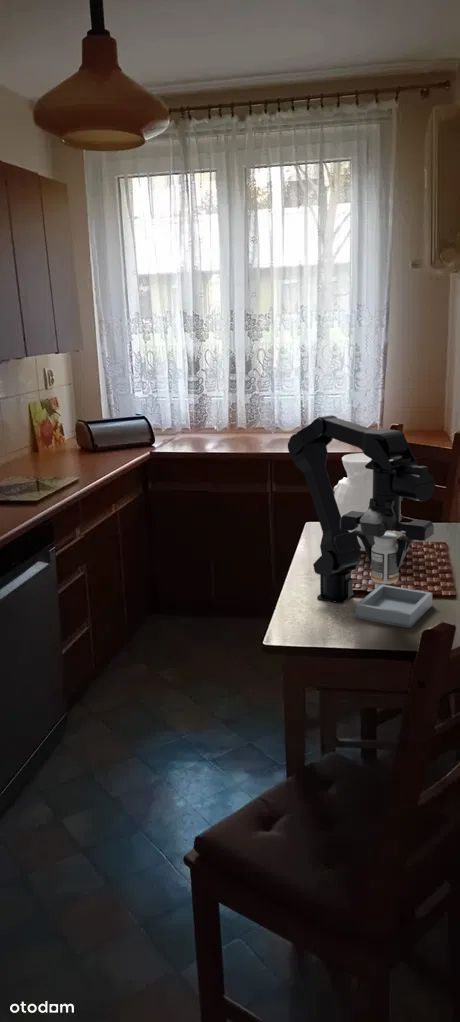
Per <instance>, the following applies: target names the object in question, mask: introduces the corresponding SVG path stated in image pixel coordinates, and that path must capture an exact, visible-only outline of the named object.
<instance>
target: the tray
mask: <svg viewBox="0 0 460 1022" xmlns="http://www.w3.org/2000/svg"><path fill="white" fill-rule="evenodd" d="M432 606H433V592H429V591H422V590H417V589H411V588H406V587H399V586H393V585H389V584H381V583H380V584H379V585H378V586H377V587H376V588H374V589H373V590H372V591H371V592H369V593H368V595H366V596H365V597H363V598H362V599H361V600H360V601H358V602H357V603H356V604H355V618H356V619H360V620H365V621H370V622H375V623H379V624H385V625H390V626H397V627H401V628H405V629H406V628H407V629H411V628H412V627H413V626H414V625H415V624H416V623H417V622H418V621H419V620H420V619H421V617H423V616H424V615H425V614H426V612H427V611H428V610H430V609H431V607H432Z"/></svg>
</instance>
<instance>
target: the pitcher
mask: <svg viewBox="0 0 460 1022" xmlns="http://www.w3.org/2000/svg"><path fill="white" fill-rule="evenodd" d="M371 460H372V459H371V458H369V457H367V456H366V455H365V454H364V453H363V452H357V453H349V454H345V455H343V456H342V457H341V461H342V462H341V463H342V465H343V467H344V470H345V472H346V475H347V477H343V478H342V479H340V480H338V483H337V484H336V485H335V486H334V487H333V493H334V496H335V500H336V503H337V506H338V509H339V512H340V515H341V517H342V516H343V515H345V514H347V513H349V512H351V511H357V512H366V511H367V510H368V508H369V502H370V499H371V498H372V494H373V470H371V469H367V468H365V465H366V464H367V463H369V462H370V461H371ZM393 460H394V459H392V460H389V461H393ZM401 511H402V510H401V509H400V513H401ZM348 531H349V532H353V531H354V530H352V531H350V530H348ZM386 532H387V533H393V534H396V533H397V531H388V530H387V531H386ZM357 538H358V542H359V544H360V546H361V549H360V551H361V552H366V550H365V547H364V545H363V543H362V541H361V539H360V538H359V537H358V536H357Z"/></svg>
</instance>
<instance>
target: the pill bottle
mask: <svg viewBox="0 0 460 1022" xmlns="http://www.w3.org/2000/svg"><path fill="white" fill-rule="evenodd" d="M397 538H398V537H397V534H396V533H395V534H393V533H387V532H385V534H384V535H383V536H382V537H376V536H374V542H375V544H374V545H373V546H372V549H371V550H372V551H371V565H370V566H371V569H370V571H371V572H370V577H371V580H372V581H373V582H375V583H377V584H380V585H381V584H382V585H390V584H395V583H397V582H398V581H399V571H400V567H397V552H398V544H397V543H398V542H397Z"/></svg>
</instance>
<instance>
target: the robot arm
mask: <svg viewBox="0 0 460 1022" xmlns="http://www.w3.org/2000/svg"><path fill="white" fill-rule="evenodd" d="M333 440H336V441H339V442H342V443H343V444H344V443H345V444H346V445H350V446H352V447H355V448H358V449H359V450H361V451H362V453H364V454H365V455H366V456H367V457H369V458H371V459H372V460H371V461H370V462H369V463H367V464H366V465H365V468H367V469H371V470H373V494H372V498H371V499H370V502H369V508H368V510H367V511H366V512H357V511H351V512H349V513H347V514H345V515H343V516H342V517H341V515H340V512H339V509H338V506H337V503H336V500H335V496H334V494H335V492H334V489H333V488H332V485H331V484H332V483H331V482H330V478H329V474H328V472H327V469H326V468H327V467H326V464H327V459H328V455H329V453H328V447H327V446H328V445H330V444H331V442H333ZM287 450H288V454H289V455H290V458H291V460H292V462H293V465H295V466H296V467H297V468H298V469H299V470H300V471H301V472H302V473H303V474H304V477H305V480H306V483H307V487H308V490H309V494H310V495H311V500H312V503H313V506H314V509H315V512H316V515H317V519H318V522H319V524H320V528H321V532H322V536H321V541H320V545H319V548H320V554H321V555H320V556H319V557H318V558H317V560H315V562H313V564H312V565H313V569H314V570H313V571H314V573H315V574H317V575H320V577H319V579H320V581H319V583H320V584H319V585H320V586H319V587H320V588H319V589H320V590H319V591H320V592H319V594H318V595H317V596H316V599H317V600H323V601H327V602H333V603H339V604H343V603H345V602H347V601H348V600H349V599H351V597H352V596H354V595H355V593H354V592H353V588H354V585H353V584H354V583H353V581H354V579H353V578H352V571H356V570H357V568H358V567H357V566H358V564H359V562H360V560H361V559H360V558H361V557H362V551H360V549H361V546H360V544H359V542H358V538H357V536H358V537H359V538H360V539H361V541H362V543H363V545H364V547H365V550H366V551H365V553H366V555H367V558H368V562H369V563H371V551H372V550H371V549H372V546H373V545H374V544H375V542H374V536H376V537H382V536H383V535H384V534H385V532H386V531H387V530H388V531H396V532H399V533H400V534H401V535H400V536H399V537H397V542H396V543H397V546H398V552H397V567H399V568H400V567H401V566H402V563H403V561H404V559H405V557H406V555H407V552H408V550H409V548H410V546H411V545H412V543H413V542H414V541H421V542H422V541H423V542H424V541H426V540H427V539H429V538H430V537H431V536H433V535H434V534H435V533H434V532H435V531H434V530H435V526H434V523H433V522H432V521H431V520H424V519H417V518H415V519H413V520H411V521H410V522H401V521H402V520H403V514H401V512H400V510H401V506H402V505H401V502H402V501H403V500H404V498H406V499H409V500H413V501H419V502H421V503H425V502H427V501H429V500H430V499H431V498H432V496H433V494H434V492H435V489H436V481H435V478H434V477H433V475H432V474H431V473H429V467H428V466H425V465H418V461H417V459H416V457H415V455H414V452H413V450H412V448H411V447H410V445H409V443H408V441H407V438H406V437H405V433H404V432H403V431H401V430H398V429H397V430H396V429H387V428H386V429H374V428H373V429H372V428H369V427H366V426H362V425H360V424H357V423H353V422H350V421H347V420H345V419H341V418H338V417H337V416H335V415H325V416H324V415H323V416H318V417H317V418H316V419H313V421H311V423H310V424H308V425H307V426H305V427H303V428H301V429H300V430H299V431H297V432H296V433H294V434H292V435H291V436H290V438H289V441H288V443H287ZM392 459H393V461H389V460H392ZM348 530H350V531H352V530H354V531H353V532H349V531H348Z"/></svg>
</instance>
